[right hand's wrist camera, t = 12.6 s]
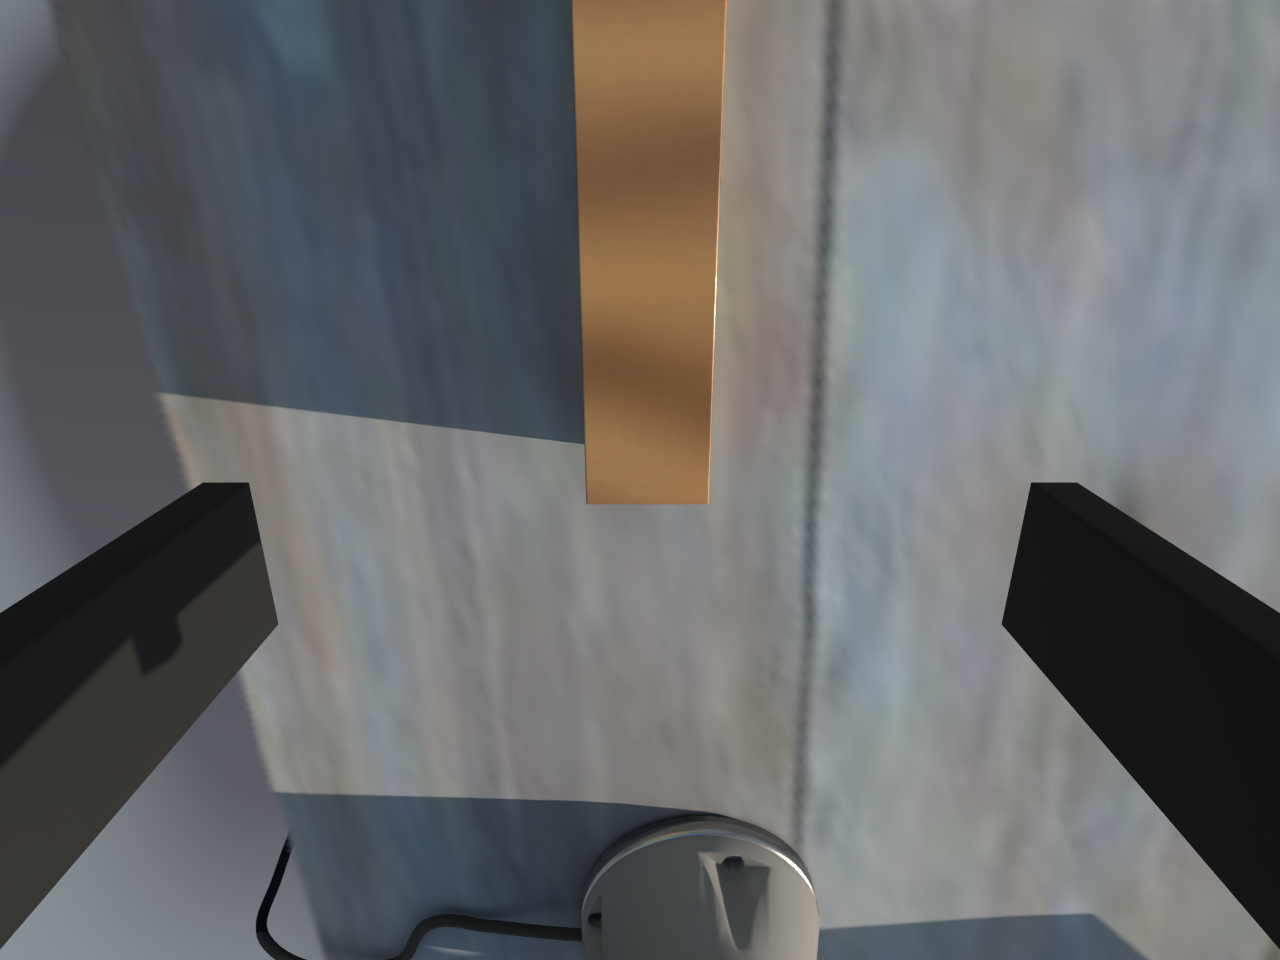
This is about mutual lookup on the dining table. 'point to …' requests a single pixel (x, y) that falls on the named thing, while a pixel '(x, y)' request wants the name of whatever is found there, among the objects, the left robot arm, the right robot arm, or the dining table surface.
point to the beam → (648, 241)
